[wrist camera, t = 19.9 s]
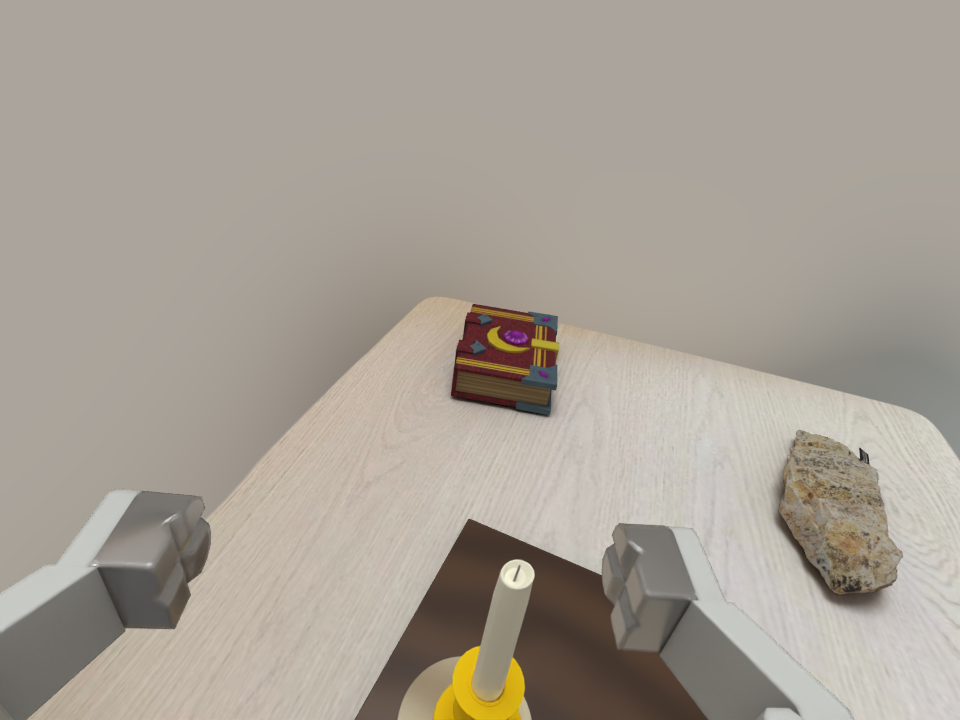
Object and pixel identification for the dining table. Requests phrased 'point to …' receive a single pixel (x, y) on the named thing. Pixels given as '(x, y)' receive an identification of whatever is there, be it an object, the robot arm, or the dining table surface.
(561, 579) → the board
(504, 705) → the candle
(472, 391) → the decorative book
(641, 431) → the dining table surface
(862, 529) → the stone
